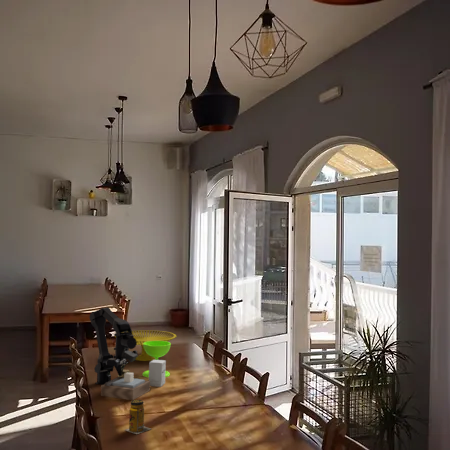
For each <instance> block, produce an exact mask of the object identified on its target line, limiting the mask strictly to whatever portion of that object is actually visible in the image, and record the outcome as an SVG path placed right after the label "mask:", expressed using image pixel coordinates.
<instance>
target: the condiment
mask: <svg viewBox="0 0 450 450" xmlns="http://www.w3.org/2000/svg"><path fill="white" fill-rule="evenodd" d="M144 403H145V402H144V400H141V399H134V400H130V407H129V417H128V418H129V419H128V420H129V421H128V428H127V429H125V431H126V432H129V433H132V434H135V435H138V434H141V433H144V432H147V431H149V430H152V428H150V427H147V426H145V407H144V406H145V405H144Z"/></svg>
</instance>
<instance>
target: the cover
mask: <svg viewBox="0 0 450 450" xmlns="http://www.w3.org/2000/svg"><path fill="white" fill-rule="evenodd" d="M134 374H135V372H130V371H129V372H127V373H125V374H124V378H122V379H119V380H117V381H115V382H113V383H112V385H115V386H122V387H130V388H134V387H136V386H138V385H140V384H142V383H144V382H145V379H140V378H134V377H135V376H134Z"/></svg>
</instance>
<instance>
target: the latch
mask: <svg viewBox="0 0 450 450" xmlns="http://www.w3.org/2000/svg"><path fill="white" fill-rule="evenodd" d="M127 372H130V370H129V369H124V370H123V373H122V376H119V375H118V374H117V377H124V374H125V373H127Z"/></svg>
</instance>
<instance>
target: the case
mask: <svg viewBox="0 0 450 450" xmlns="http://www.w3.org/2000/svg"><path fill="white" fill-rule="evenodd" d="M122 378H124V377H118V376H117V377H116V378H113V379H111V381H108V382H106V383H105V384H104V385H100V397H109V398H115V399H122V400H128V401H133V400H137V398H139V397H141V396H143V395H145V394H146V393H148V392H150V391H151V386H150V381H149V380H145V379H144V380H145V382H144V383H142V384H140V385H138V386H136V387H134V388H130V387H122V386H115V385H112V383H113V382H115V381H117V380H119V379H122Z"/></svg>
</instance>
